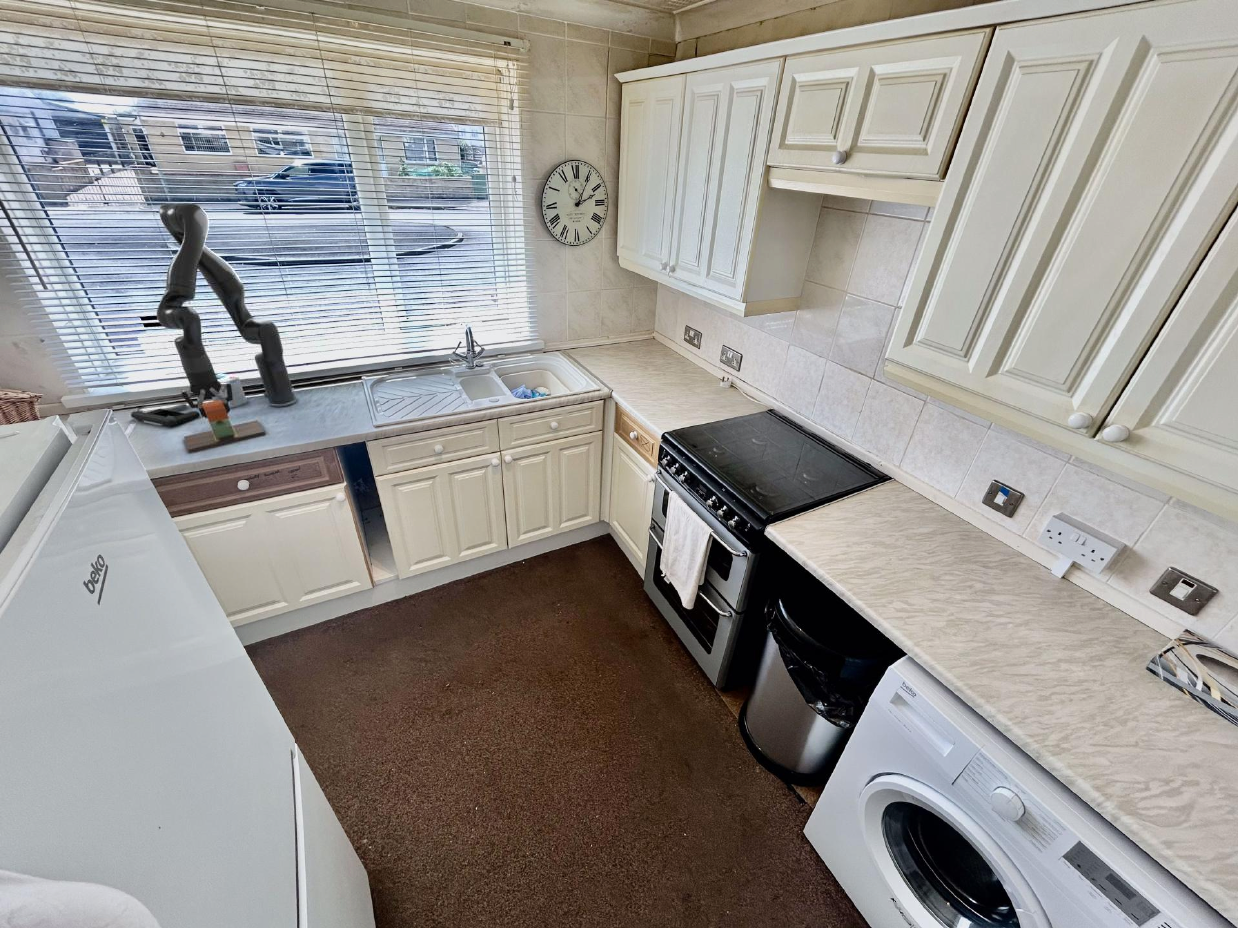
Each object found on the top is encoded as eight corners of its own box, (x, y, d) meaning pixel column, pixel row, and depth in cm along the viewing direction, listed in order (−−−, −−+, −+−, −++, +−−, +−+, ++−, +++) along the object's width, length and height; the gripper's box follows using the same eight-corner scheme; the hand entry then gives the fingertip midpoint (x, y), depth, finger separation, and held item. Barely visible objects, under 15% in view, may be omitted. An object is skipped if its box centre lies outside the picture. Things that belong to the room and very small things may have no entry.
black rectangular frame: (170, 399, 203) (125, 413, 190) (209, 407, 199) (166, 421, 185) (173, 407, 205) (128, 421, 191) (212, 415, 200) (169, 430, 186)
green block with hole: (212, 431, 184) (207, 418, 181) (231, 427, 187) (226, 414, 184) (216, 440, 178) (211, 427, 175) (235, 435, 181) (230, 423, 178)
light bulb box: (213, 403, 207) (203, 378, 202) (230, 397, 212) (220, 372, 207) (232, 408, 204) (222, 382, 198) (248, 402, 209) (239, 376, 204)
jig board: (185, 439, 180) (182, 433, 179) (258, 423, 193) (256, 417, 192) (189, 452, 173) (186, 446, 172) (265, 434, 185) (263, 428, 184)
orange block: (205, 414, 180) (201, 403, 178) (224, 410, 183) (220, 399, 181) (209, 422, 174) (205, 411, 172) (229, 418, 178) (225, 407, 176)
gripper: (222, 361, 177) (239, 406, 185) (169, 369, 169) (189, 416, 177) (226, 366, 172) (243, 413, 180) (172, 375, 164) (192, 424, 172)
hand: (216, 415), depth 179 cm, fingers closed on orange block, 5 cm apart
